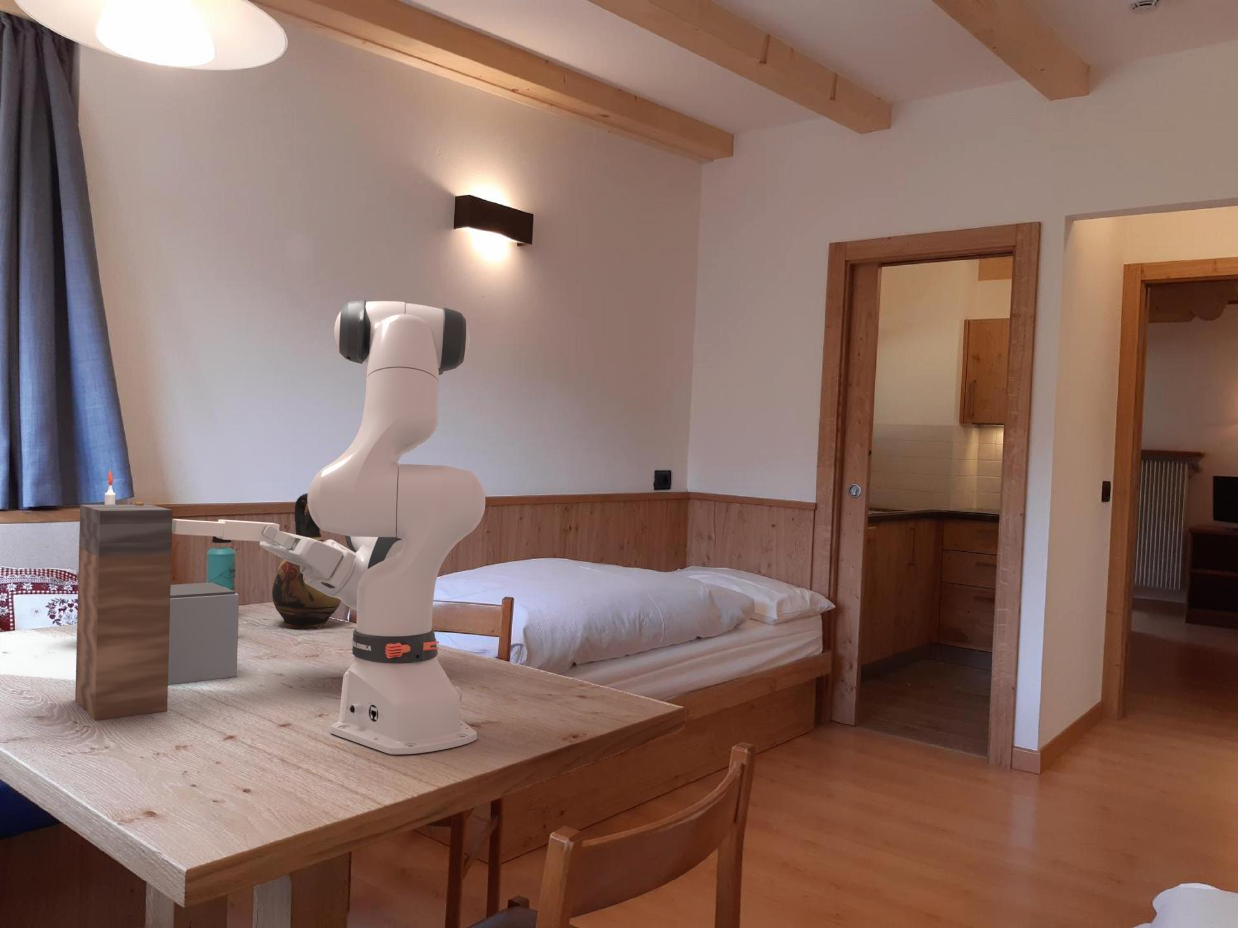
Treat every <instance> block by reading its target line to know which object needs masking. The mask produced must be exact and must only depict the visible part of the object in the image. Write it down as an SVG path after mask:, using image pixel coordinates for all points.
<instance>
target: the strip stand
mask: <svg viewBox="0 0 1238 928" xmlns="http://www.w3.org/2000/svg"><path fill="white" fill-rule="evenodd" d="M173 511H174V509H170V508H166V507H161V506H157V505H154V504H149V503H147V504H145V503H144V502H134V504H132V503H131V504H129V503H128V504H126V503H125V504H121V503H120V504H115V505H105V504H79V530H78V531H79V535H78V537H79V538H78V540H79V541H78V571H77V572H78V573H77V574H78V581H77V616H76V649H75V650H76V652H75V653H76V655H75V656H76V657H75V659H76V662H75V695H74V699H75V701H76V702H77V703H78V704H79V706H80V707H82V709H83V710H84V711H85V712H86V713H87V714H88V715H89V716H90V717H91V718H92V719H93V720H94V721H101V720H107V719H114V718H123V717H130V716H137V715H145V714H152V713H153V714H154V713H160V712H162V713H163V712H167V711H168V705H169V703H168V700H169V697H168V696H169V695H168V694H169V684H168V667H169V629H170V591H171V585H172V584H171V581H172V580H171V579H172V549H173V548H172V546H173V533H172V519H173V514H174V513H173Z"/></svg>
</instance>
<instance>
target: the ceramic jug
mask: <svg viewBox="0 0 1238 928" xmlns="http://www.w3.org/2000/svg"><path fill="white" fill-rule="evenodd" d="M307 498H308V492H307V493H303V494H301V495H300V496H299V497H298V498H297V499H296V501H295V505H294V512H293V513H294V523H295V524H294V526H295V527H294V529H295V535H299V536H303V537H308V538H312V539H315V540H318V541H321V542H325V540H324V539H323V536H322V534H321V529H320V528H319V527H318V526H317V525H316V524H315V522H314V521H313V519H312V517H311V515H310V512H309V508H308V507H307V505H308V501H307ZM306 507H307V511H306ZM305 511H306V513H305ZM271 598H272V602H273V604H274V607H275V610H276V611H277V612H278V613H279V615H280V616H281V618H282V619H283V626H284V627H287V628H289V629H293V630H296V629H297V630H298V629H304V630H313V629H315V630H316V629H318V628H325V627H326V626H327V625H326V624H327V623H328V620H329V619H330V617H331V616H332V615H333V614H334V613H335V612H336V611H337V609H338V608H339V607H340V605H341V602H342V601H341V600H340V599H338V598H335V597H330V596H328V595H326V594H324V593H322V592H320V591H318V590H317V589H315V588H313V587H311V586H309V585H307V584H305V582H304V580H303V574H302V573H301V572H300V565H296V564H293V563H291V562H289V561H286V560H284V559H282V562H281V563H280V565H279V566H278V569H277V571H276V573H275V576H274V579H273V583H272V589H271Z"/></svg>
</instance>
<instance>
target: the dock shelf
mask: <svg viewBox="0 0 1238 928" xmlns="http://www.w3.org/2000/svg"><path fill="white" fill-rule="evenodd" d="M239 604H240V594H238V593H236V591H235V590H234V591H233V590H230V589H228V588H225V587H223V586H220V585H217V584H215V583H212V582H211V583H206V582H195V583H193V582H192V583H181V584H179V583H177V584H171V591H170V629H169V667H168V685H175V684H185V683H192V682H200V681H209V680H218V679H227V678H233V677H235V678H236V677H238V645H239V643H238V642H239V615H240V614H239V612H240V609H239V607H240V605H239Z"/></svg>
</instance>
